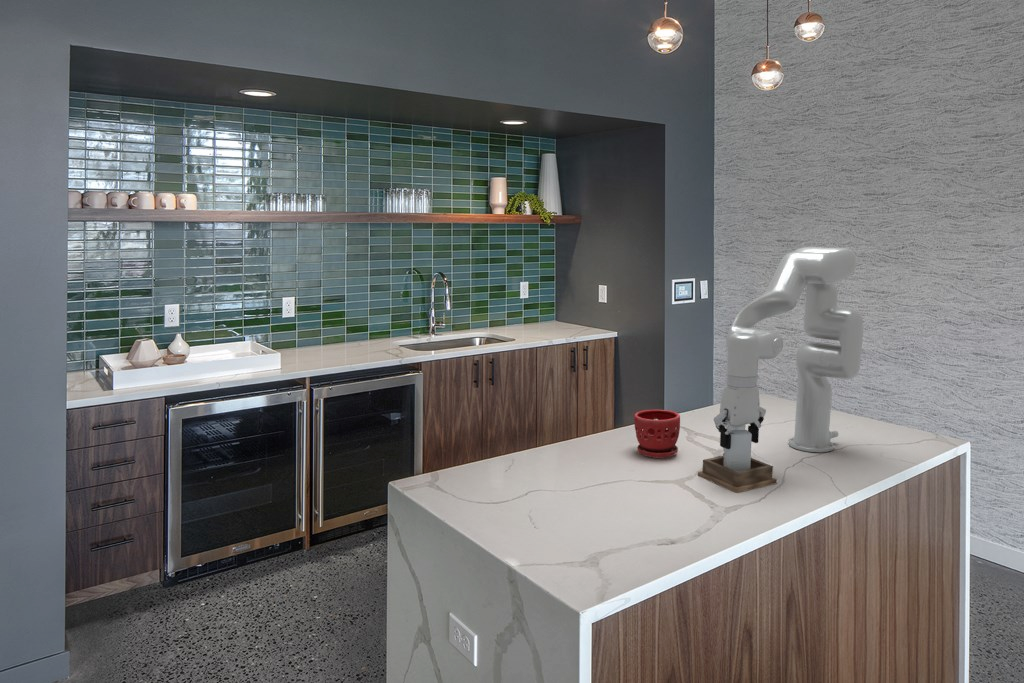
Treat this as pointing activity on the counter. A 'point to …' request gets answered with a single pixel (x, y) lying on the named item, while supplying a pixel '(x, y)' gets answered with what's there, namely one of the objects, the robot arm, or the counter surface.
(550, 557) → the counter surface
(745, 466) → the skincare box
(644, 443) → the plant pot
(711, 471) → the square wooden tray
